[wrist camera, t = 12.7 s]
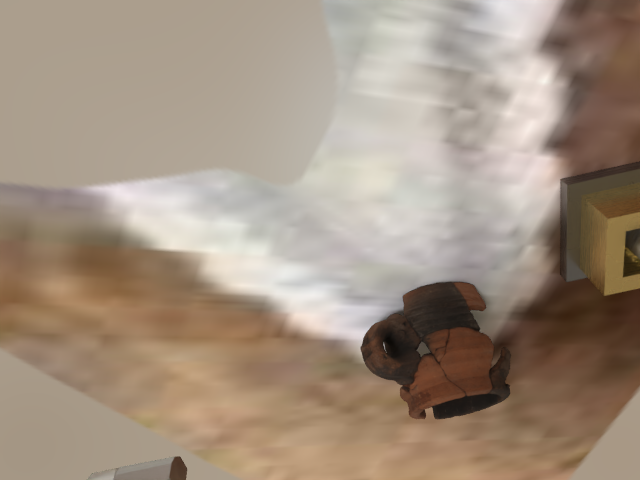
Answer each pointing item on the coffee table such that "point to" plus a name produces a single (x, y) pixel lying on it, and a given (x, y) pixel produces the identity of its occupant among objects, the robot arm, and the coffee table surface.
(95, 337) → the coffee table surface
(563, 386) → the coffee table surface
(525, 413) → the coffee table surface
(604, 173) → the post
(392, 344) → the pottery mug
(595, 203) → the wooden square frame
